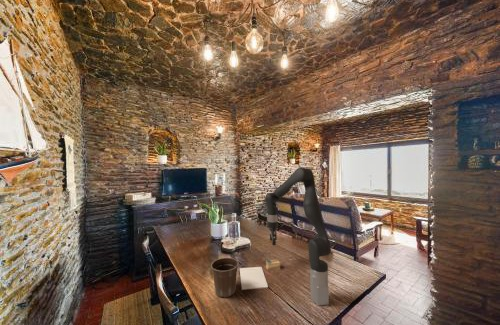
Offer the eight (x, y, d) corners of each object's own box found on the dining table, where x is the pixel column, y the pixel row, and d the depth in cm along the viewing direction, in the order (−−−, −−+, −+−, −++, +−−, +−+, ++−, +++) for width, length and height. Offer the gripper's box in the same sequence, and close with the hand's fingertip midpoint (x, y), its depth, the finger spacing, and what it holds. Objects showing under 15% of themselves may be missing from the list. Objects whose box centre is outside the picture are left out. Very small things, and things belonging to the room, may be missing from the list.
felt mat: (268, 287, 119) (268, 286, 119) (241, 289, 117) (241, 288, 117) (261, 267, 143) (261, 266, 143) (239, 268, 141) (239, 268, 141)
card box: (280, 269, 140) (280, 262, 140) (267, 270, 139) (267, 263, 139) (277, 266, 145) (277, 258, 145) (266, 267, 144) (266, 259, 144)
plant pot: (205, 291, 116) (205, 263, 117) (227, 279, 128) (227, 255, 128) (222, 304, 105) (221, 274, 105) (244, 291, 116) (244, 263, 116)
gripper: (280, 223, 136) (280, 246, 136) (275, 217, 150) (275, 238, 150) (269, 223, 135) (269, 247, 135) (265, 217, 149) (265, 239, 149)
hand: (272, 242), depth 142 cm, fingers open, 8 cm apart
